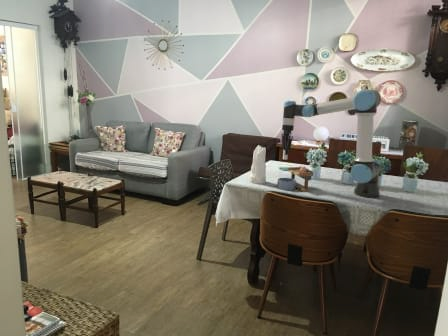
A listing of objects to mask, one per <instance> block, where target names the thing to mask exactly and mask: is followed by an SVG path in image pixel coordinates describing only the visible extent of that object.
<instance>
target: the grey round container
mask: <svg viewBox="0 0 448 336" xmlns="http://www.w3.org/2000/svg"><path fill="white" fill-rule="evenodd" d="M296 182H297V179H292V178H291V177H279V178H278V179H277V185H276V187H277V188H278V190H282V191H294V190H296Z"/></svg>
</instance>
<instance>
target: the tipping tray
mask: <svg viewBox="0 0 448 336" xmlns="http://www.w3.org/2000/svg"><path fill="white" fill-rule="evenodd" d="M301 167H303V166H301V165H300V166H295V167H294V166H286V167H284V166H281V167H280V166H279V167H278V169H279V170H281V171H283V172H289V173H290V174H292V173H293V174H295V176H297V177H299V178H302V179H303V180H305V176H309V180H308V181H312V177H314V171H313V170H311V169H309V168H306V172H301V171H300V168H301Z"/></svg>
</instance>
